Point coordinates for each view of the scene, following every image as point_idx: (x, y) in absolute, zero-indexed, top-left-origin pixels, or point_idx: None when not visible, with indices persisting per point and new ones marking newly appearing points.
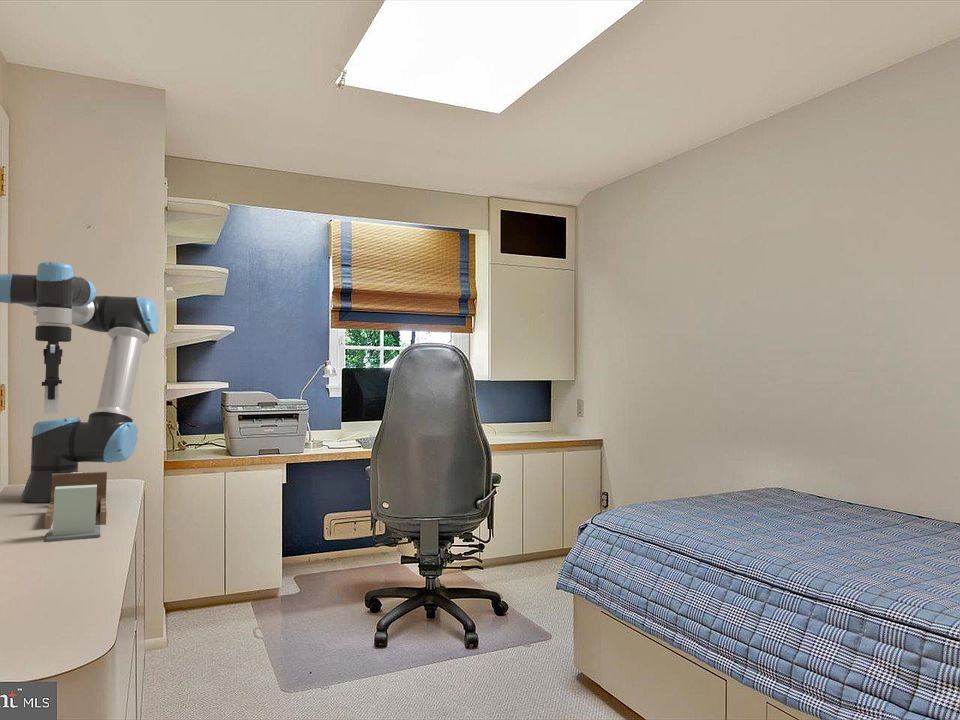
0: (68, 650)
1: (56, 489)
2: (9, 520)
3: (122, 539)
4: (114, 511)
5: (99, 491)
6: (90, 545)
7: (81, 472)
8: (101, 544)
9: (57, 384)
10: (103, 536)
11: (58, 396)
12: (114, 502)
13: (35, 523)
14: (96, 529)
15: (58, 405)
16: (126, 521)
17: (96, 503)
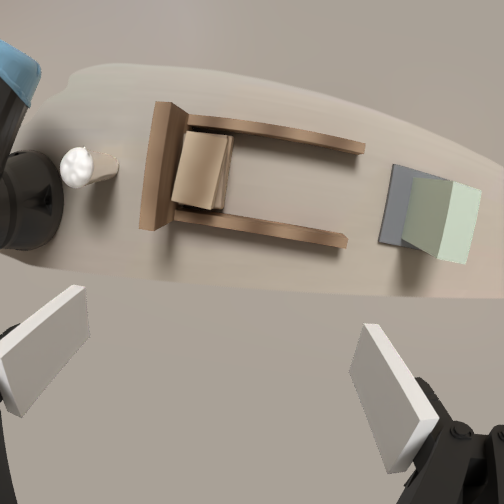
0: None
1: (465, 261)
2: (216, 284)
3: (480, 161)
4: (219, 104)
5: (182, 124)
6: (489, 207)
7: (69, 157)
8: (492, 194)
9: (466, 426)
10: (451, 176)
11: (47, 318)
12: (111, 97)
13: (275, 250)
14: (420, 177)
15: (66, 293)
16: (349, 108)
17: (228, 137)
